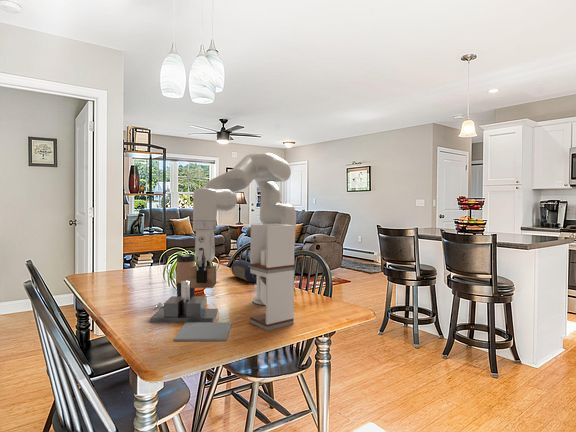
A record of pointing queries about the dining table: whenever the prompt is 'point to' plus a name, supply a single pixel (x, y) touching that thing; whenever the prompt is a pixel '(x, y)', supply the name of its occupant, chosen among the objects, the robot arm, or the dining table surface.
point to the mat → (204, 331)
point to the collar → (210, 277)
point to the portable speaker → (243, 271)
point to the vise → (184, 308)
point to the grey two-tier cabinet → (274, 273)
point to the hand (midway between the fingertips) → (203, 280)
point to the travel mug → (185, 271)
